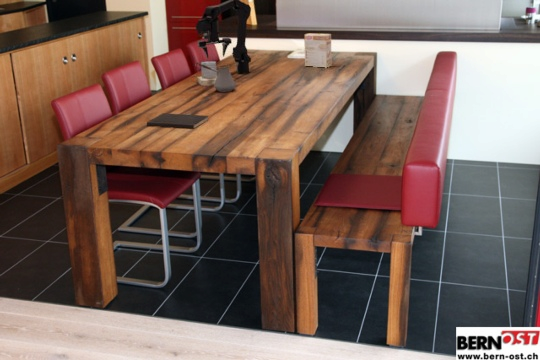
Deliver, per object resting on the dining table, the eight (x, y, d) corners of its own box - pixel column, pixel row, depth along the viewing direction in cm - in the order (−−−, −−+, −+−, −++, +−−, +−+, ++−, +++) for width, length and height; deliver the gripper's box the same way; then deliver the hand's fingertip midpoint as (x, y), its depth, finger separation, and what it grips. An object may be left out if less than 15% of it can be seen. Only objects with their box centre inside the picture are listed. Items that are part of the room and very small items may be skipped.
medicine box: (217, 76, 393) (216, 61, 390) (215, 78, 389) (214, 62, 386) (203, 77, 394) (202, 61, 391) (201, 78, 389) (200, 63, 386)
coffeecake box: (331, 66, 424) (331, 33, 418) (326, 68, 419) (325, 35, 412) (310, 64, 432) (309, 32, 426) (304, 66, 427) (303, 34, 420)
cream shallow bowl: (217, 80, 399) (217, 74, 398) (222, 84, 388) (222, 78, 387) (197, 82, 396) (196, 76, 395) (201, 86, 385) (201, 80, 384)
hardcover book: (163, 118, 325) (163, 113, 325) (208, 120, 318) (208, 115, 317) (146, 127, 311) (146, 122, 310) (193, 130, 304) (193, 125, 303)
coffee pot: (238, 88, 377) (236, 60, 372) (233, 93, 366) (231, 64, 361) (200, 87, 381) (198, 60, 376) (193, 92, 371) (191, 64, 366)
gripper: (225, 26, 402) (227, 53, 407) (193, 29, 397) (196, 56, 402) (230, 28, 392) (232, 56, 397) (198, 32, 387) (200, 60, 392)
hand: (215, 57), depth 398 cm, fingers open, 9 cm apart
